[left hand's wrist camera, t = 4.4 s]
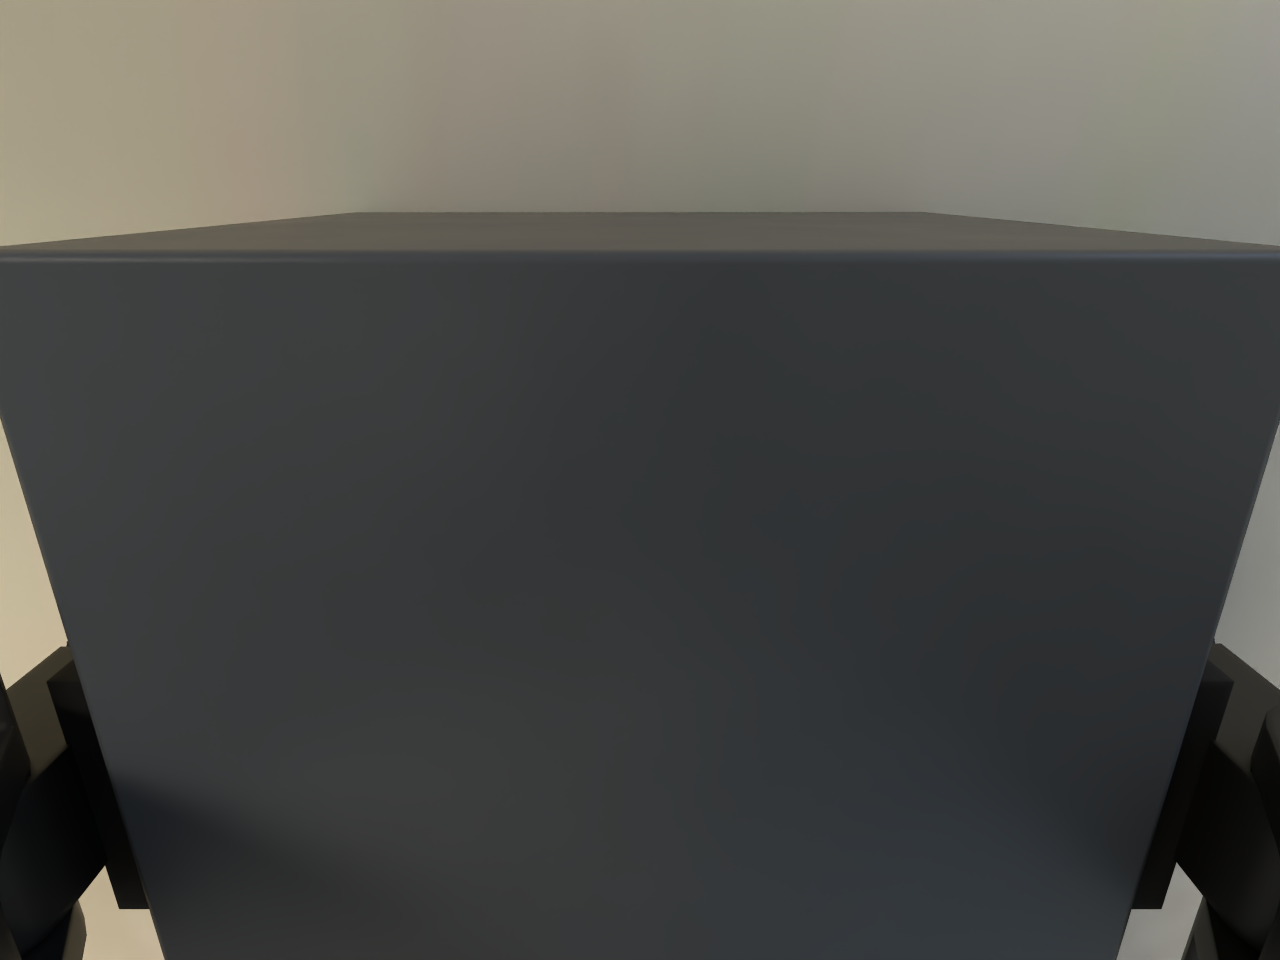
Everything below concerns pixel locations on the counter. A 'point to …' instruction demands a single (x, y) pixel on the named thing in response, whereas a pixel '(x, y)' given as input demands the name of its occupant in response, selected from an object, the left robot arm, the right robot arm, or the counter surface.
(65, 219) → the counter surface
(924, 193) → the counter surface
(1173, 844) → the left robot arm
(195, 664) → the long dark grey beam
